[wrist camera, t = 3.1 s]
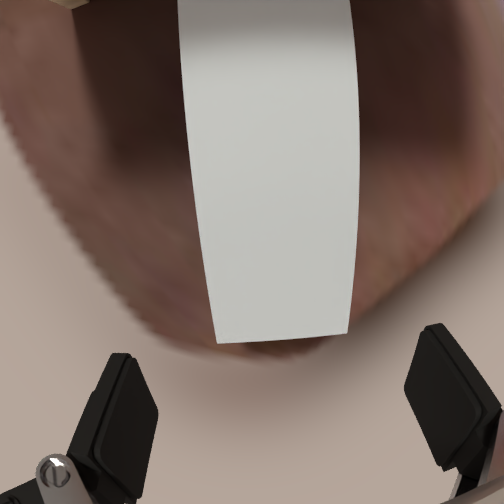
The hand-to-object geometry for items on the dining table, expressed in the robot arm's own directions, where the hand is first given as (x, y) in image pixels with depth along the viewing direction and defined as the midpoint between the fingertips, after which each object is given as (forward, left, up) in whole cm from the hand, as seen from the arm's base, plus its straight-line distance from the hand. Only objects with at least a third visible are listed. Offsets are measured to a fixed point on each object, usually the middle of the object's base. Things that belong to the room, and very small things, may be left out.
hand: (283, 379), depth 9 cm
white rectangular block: (0, -6, -9) cm, 11 cm away
